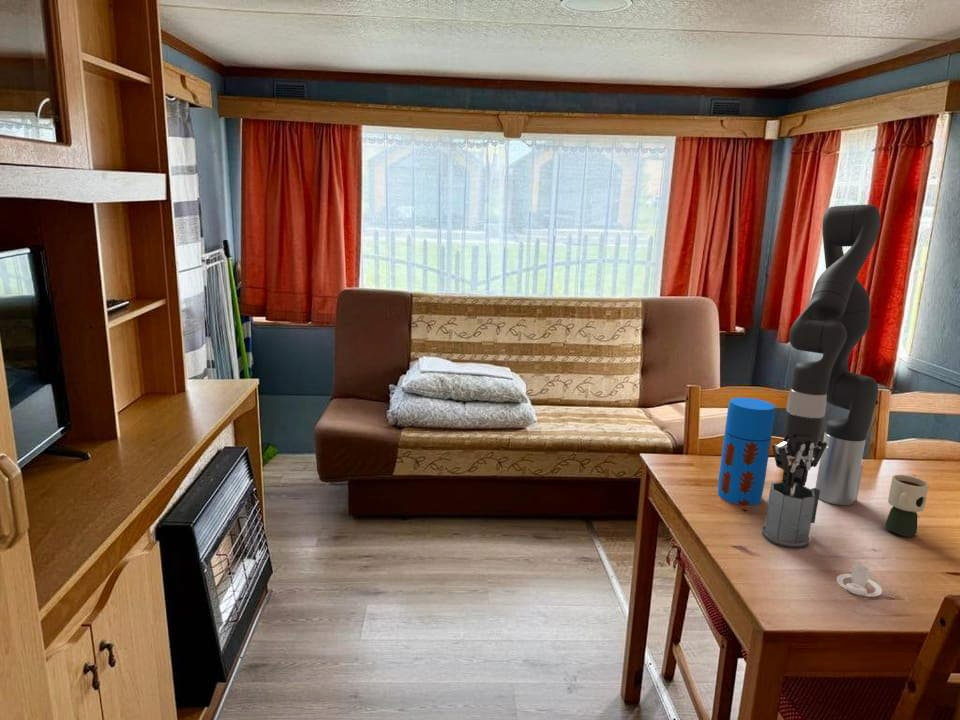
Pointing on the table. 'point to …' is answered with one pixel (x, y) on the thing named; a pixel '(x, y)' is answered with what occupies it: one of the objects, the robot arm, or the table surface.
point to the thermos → (745, 450)
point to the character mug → (906, 504)
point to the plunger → (797, 478)
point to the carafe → (790, 515)
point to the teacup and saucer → (859, 581)
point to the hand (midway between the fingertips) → (793, 485)
